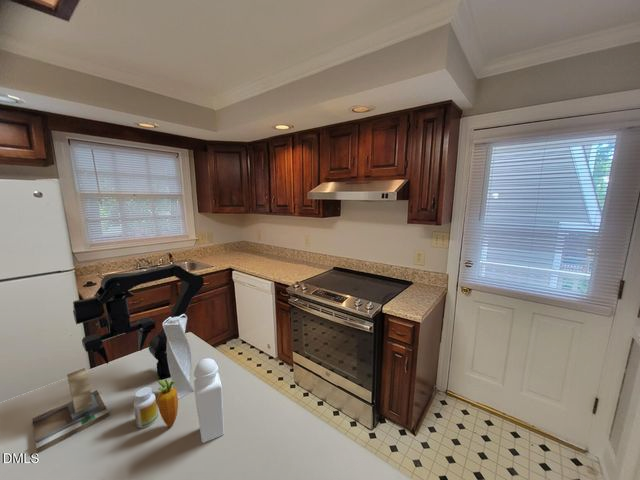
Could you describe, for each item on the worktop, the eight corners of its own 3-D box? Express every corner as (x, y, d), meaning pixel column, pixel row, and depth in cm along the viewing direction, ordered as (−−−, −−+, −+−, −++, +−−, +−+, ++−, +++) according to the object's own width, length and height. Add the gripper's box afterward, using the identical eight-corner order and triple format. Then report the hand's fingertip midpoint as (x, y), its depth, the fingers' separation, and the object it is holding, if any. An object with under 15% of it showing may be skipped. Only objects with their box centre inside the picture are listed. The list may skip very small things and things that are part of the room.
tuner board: (97, 394, 90) (96, 388, 90) (109, 416, 80) (108, 410, 80) (33, 423, 78) (31, 416, 78) (37, 453, 69) (36, 446, 69)
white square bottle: (200, 446, 70) (192, 370, 67) (198, 427, 76) (191, 357, 72) (226, 435, 73) (219, 362, 70) (222, 418, 79) (216, 350, 75)
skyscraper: (199, 391, 90) (191, 313, 86) (176, 403, 85) (166, 321, 80) (190, 380, 96) (182, 307, 91) (167, 391, 90) (157, 314, 86)
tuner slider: (93, 396, 86) (87, 363, 84) (101, 414, 79) (95, 379, 77) (68, 408, 82) (61, 373, 80) (74, 428, 74) (67, 390, 72)
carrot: (184, 421, 78) (179, 375, 75) (170, 436, 73) (164, 387, 71) (171, 417, 79) (166, 372, 77) (156, 431, 75) (150, 383, 72)
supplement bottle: (162, 414, 81) (158, 385, 79) (149, 429, 76) (145, 399, 74) (145, 413, 81) (141, 384, 80) (132, 428, 76) (127, 398, 75)
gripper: (142, 298, 98) (147, 337, 101) (75, 316, 84) (82, 360, 87) (153, 305, 91) (158, 347, 94) (82, 326, 77) (90, 374, 80)
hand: (124, 356), depth 89 cm, fingers open, 9 cm apart
